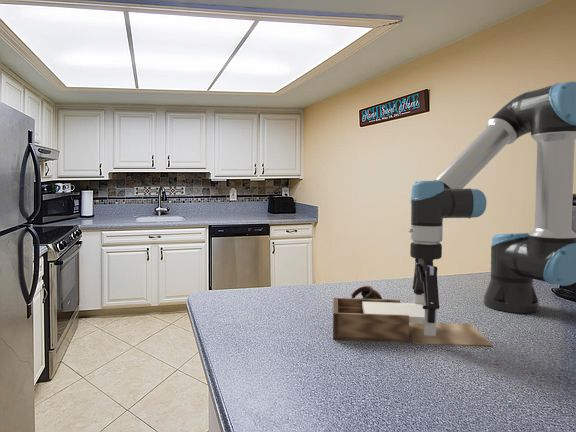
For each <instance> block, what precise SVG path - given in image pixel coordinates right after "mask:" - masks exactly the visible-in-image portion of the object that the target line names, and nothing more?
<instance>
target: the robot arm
mask: <svg viewBox="0 0 576 432" xmlns="http://www.w3.org/2000/svg"><path fill="white" fill-rule="evenodd" d="M526 134H530V137H531V139H533V140H534V141H535V142H536V169H535V170H536V171H535V172H536V174H535V175H536V177H535V210H534V228H533V229H532V230H531V231H530V232H522V233H521V232H520V233H517V232H516V233H515V232H514V233H496V234H494V235H493V237H492V239H491V245H490V280H489V283H488V286H487V288H486V291H485V293H484V296H483V304H484V305H485V306H486V307H488V308H490V309H493V310H497V311H502V312H508V313H513V314H514V313H515V314H516V313H517V314H533V313H537V312H538V311H539V309H540V307H539V306H540V302H539V299H538V296H537V292H536V289H535V286H534V280H536V281H540V282H544V283H546V284H550V285H556V286H557V285H558V286H563V287H565V286H571V285H573V284H575V283H576V232H575V231H573V229H572V228H573V224H572V223H573V201H574V200H573V199H574V198H573V197H574V196H573V193H574V173H575V171H574V168H575V141H576V81H565V82H559V83H555V84H552V85H548V86H545V87H541V88H539V89H535V90H531V91H530V90H529V91H527V92H523V93H522V94H519V95H518V96H516V97H514V98H513V99H512V100H510V101H508V103H506V104H505V105H504V106H502V107H501V108H500V110H498V111H497V112H496V113H495V114H494V115H493V116H492V117H491V118H490V119H489V120H488V121H487V122H486V127H485V129H484V130H482V132H481V133H480V134H479V135H478V136H477V137H476V138H475V139H474V140H472V141H471V143H469V145H468V146H467V147H466V148H465V149H464V150H462V152H461V153H460V154H459V155H458V156H457V157H456V158H454V159H453V160H452V162H451V163H450V164H449V165H448V166H447V167H446V168H445V169H443V171H441V173H440V174H439V175H438V176H437V177H436V178H435V179H433V180H417V181H414V182H413V183H412V187H411V197H410V205H411V207H410V210H411V212H410V214H411V215H410V228H408V233H410V240H411V241H412V242H411V243H410V244H409V245H410V250H409V252H410V257H411V258H413V259H414V262H415V263H414V273H413V281H412V287H411V289H412V290H413V293H414V295H413V303H419V304H423V305H424V306H423V307H422V308H423V309H424V335H428V336H436V323H437V312H438V311H437V310H439V309H440V299H439V298H440V296H439V283H438V267H437V266H434V261H435V260H439V259H441V258H442V257H443V256H442V255H443V252H442V251H443V246H442V244H441V242H442V241H443V231H444V230H443V227H444V226H443V223H444V219H471V218H472V219H473V218H479V217H481V216H482V215H483V214H484V213H485V212H486V209H487V205H488V203H487V197H486V195H485V193H484V192H483V191H482V190H480V189H477V188H471V187H470V188H469V187H468V188H465V187H466V186H467V185H468V184H469V183H470V182H471V181H472V180H473V179H474V178H475V177H476V176H477V175H479V173H480V172H481V171H482V170H483V169H484V168H485V167H486V165H488V164H489V163H490V162H491V161H492V160H494V159H493V158H495V157H496V156H497V155H498V154H499V153H500V152H501V151H502V150H503V149H504V148H505V146H507V145H512V144H513V143H514V142H516V140H517V139H519V138H520V137H522V136H525V135H526Z"/></svg>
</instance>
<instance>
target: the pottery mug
mask: <svg viewBox="0 0 576 432" xmlns="http://www.w3.org/2000/svg"><path fill="white" fill-rule="evenodd" d="M359 294H360V295H361V297H362V298H360V299H383V297H382V296H381V293H380V292H379V291H377V290H376V289H374V288H373V287H372V286H370V285H364V286H361V287H358V288H357V289H355V290H354V291H353V292H352V293H351V298H357V296H358V295H359Z"/></svg>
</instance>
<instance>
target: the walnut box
mask: <svg viewBox="0 0 576 432" xmlns="http://www.w3.org/2000/svg"><path fill="white" fill-rule="evenodd" d="M362 302H391V303H401V300H400V299H389V298H387V299H386V298H385V299H384V298H382V299H361V298H357V297H355V298H352V297H350V298H349V297H348V298H347V297H333V302H332V303H333V305H332V307H333V308H332V312H333V313H332V340H334V341H356V342H357V341H359V342H381V343H383V342H384V343H403V344H404V343H406V344H407V343H408V344H409V342H410V336H409V315H391V314H364V313H363V308H362Z"/></svg>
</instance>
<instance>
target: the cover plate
mask: <svg viewBox="0 0 576 432" xmlns="http://www.w3.org/2000/svg"><path fill="white" fill-rule="evenodd" d="M423 306H424V305H423V304H419V303H414V302H413V303H412V302H400V303H391V302H362V308H363V313H364V314H391V315H409V323H424V309H423V308H422V307H423Z"/></svg>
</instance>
